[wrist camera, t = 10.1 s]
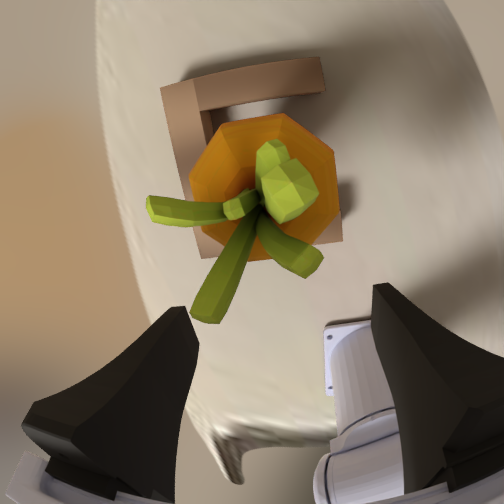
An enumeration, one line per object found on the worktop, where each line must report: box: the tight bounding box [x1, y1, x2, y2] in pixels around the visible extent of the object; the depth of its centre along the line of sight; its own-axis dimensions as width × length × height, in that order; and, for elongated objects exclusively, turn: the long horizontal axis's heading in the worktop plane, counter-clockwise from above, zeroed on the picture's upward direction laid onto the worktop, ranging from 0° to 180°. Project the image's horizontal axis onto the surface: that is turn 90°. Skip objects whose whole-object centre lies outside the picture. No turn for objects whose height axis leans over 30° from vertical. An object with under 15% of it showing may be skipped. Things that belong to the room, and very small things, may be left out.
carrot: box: [146, 113, 340, 324], centre depth 12 cm, size 5×5×15 cm
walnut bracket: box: [160, 57, 343, 259], centre depth 18 cm, size 11×9×2 cm
